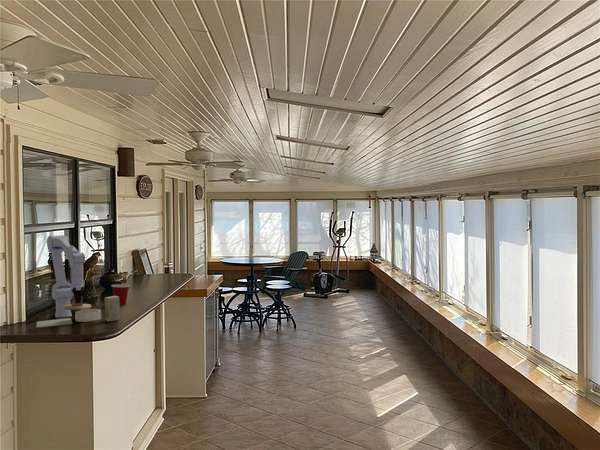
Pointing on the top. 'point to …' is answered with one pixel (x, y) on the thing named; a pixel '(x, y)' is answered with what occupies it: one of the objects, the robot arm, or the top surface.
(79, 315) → the bowl
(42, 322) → the mat
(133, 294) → the top surface
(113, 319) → the skincare box
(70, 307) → the lid
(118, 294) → the plastic cup
